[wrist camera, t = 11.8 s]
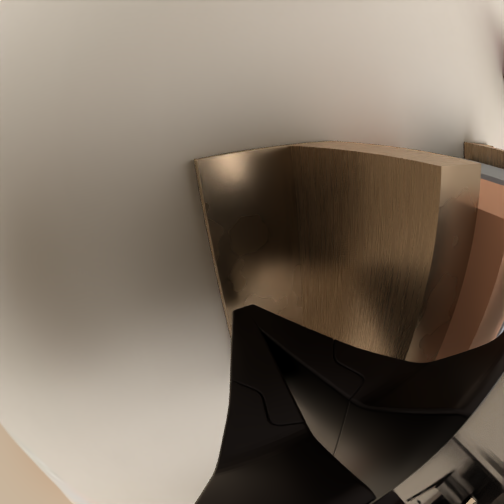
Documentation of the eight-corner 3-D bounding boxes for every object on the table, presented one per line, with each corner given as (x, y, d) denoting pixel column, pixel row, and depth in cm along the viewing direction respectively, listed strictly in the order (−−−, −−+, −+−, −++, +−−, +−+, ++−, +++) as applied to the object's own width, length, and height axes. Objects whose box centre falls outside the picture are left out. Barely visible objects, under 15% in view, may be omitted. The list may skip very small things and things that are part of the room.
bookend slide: (330, 344, 13) (401, 422, 8) (241, 379, 12) (295, 482, 7) (330, 140, 9) (481, 163, 4) (193, 159, 8) (282, 188, 3)
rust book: (392, 300, 14) (479, 367, 8) (330, 330, 13) (422, 425, 7) (404, 159, 11) (537, 198, 5) (331, 167, 10) (510, 221, 4)
